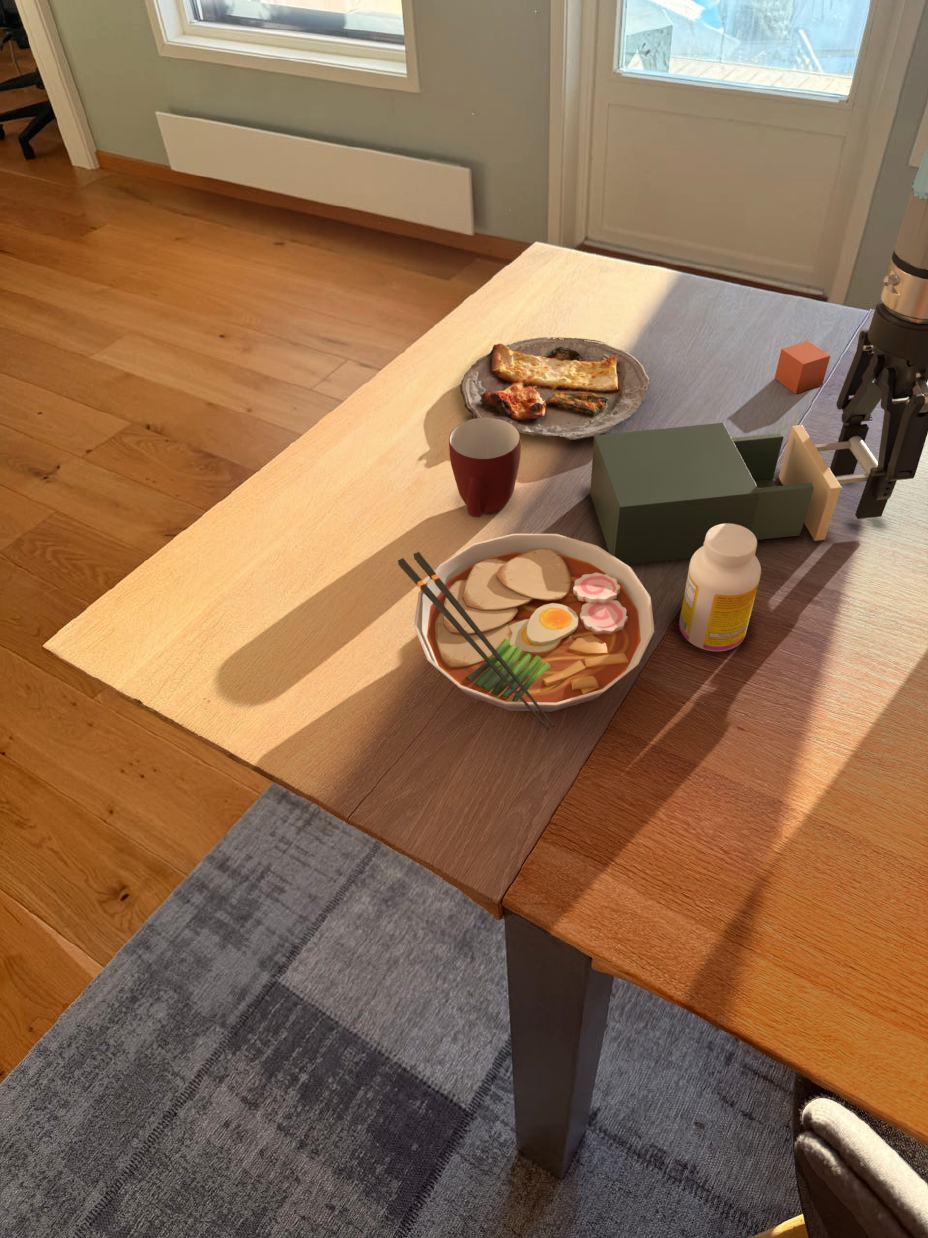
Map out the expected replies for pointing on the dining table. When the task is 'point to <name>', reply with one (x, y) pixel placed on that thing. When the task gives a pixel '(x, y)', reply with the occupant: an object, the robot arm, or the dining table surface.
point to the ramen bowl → (532, 620)
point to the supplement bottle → (721, 589)
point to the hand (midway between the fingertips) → (854, 493)
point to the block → (802, 367)
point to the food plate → (556, 386)
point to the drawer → (797, 482)
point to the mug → (485, 463)
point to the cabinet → (668, 490)
